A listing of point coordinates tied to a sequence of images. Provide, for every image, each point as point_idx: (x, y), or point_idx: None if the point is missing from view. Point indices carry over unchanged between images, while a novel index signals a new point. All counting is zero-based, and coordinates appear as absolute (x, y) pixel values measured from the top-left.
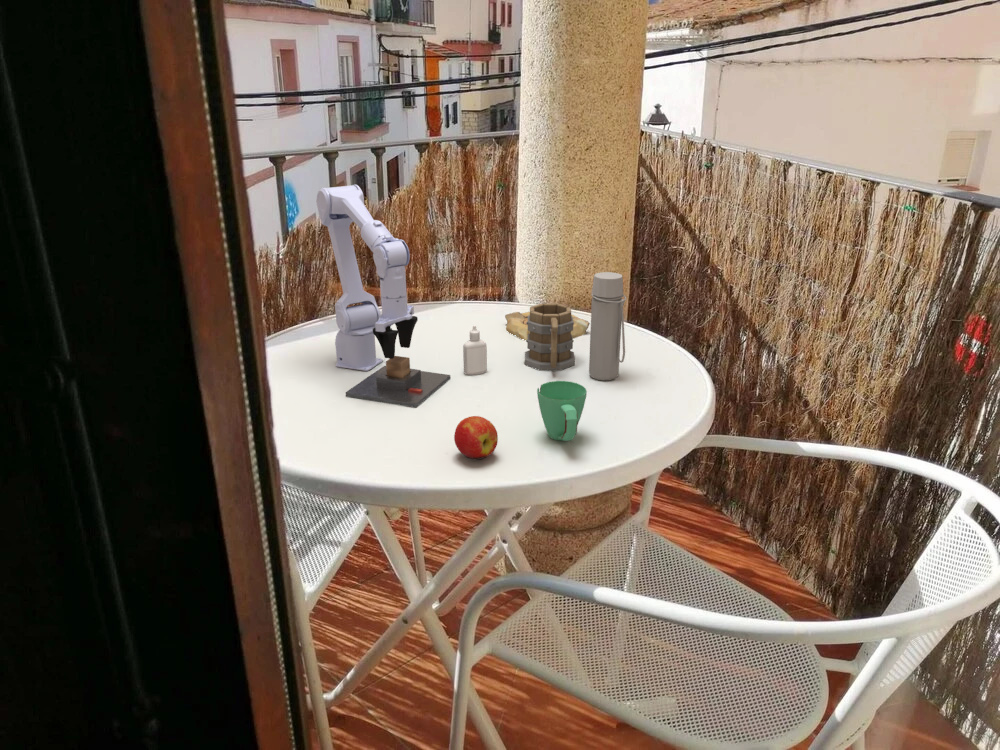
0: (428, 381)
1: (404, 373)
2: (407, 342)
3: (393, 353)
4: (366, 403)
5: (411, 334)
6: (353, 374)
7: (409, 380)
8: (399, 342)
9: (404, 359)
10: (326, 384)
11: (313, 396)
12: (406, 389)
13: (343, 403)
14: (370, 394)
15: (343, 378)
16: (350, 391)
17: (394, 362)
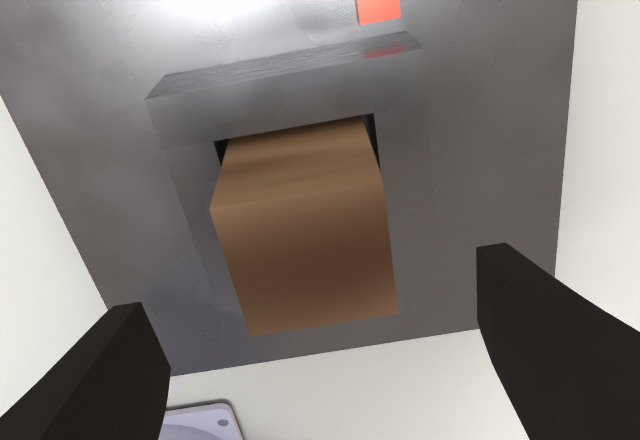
0: (150, 2)
1: (324, 139)
2: (123, 355)
3: (534, 268)
4: (594, 165)
5: (22, 416)
6: (290, 423)
7: (349, 57)
8: (163, 417)
9: (276, 218)
10: (444, 433)
11: None
12: (400, 34)
13: (625, 260)
14: (535, 199)
15: (352, 425)
16: None
17: (390, 244)
